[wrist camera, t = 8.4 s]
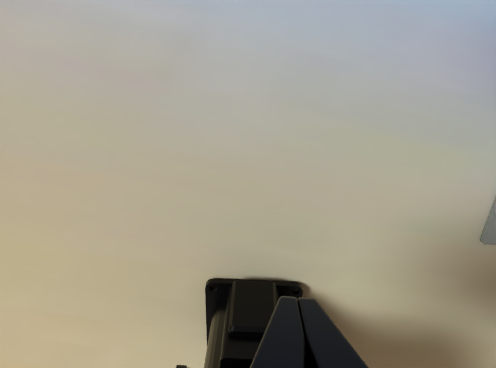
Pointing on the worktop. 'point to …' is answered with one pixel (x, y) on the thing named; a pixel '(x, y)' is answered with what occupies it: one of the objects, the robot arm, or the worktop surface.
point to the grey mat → (490, 227)
